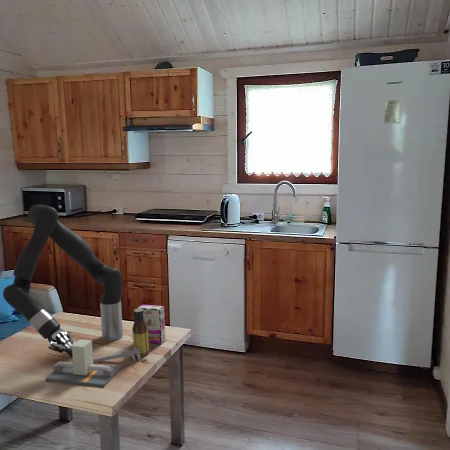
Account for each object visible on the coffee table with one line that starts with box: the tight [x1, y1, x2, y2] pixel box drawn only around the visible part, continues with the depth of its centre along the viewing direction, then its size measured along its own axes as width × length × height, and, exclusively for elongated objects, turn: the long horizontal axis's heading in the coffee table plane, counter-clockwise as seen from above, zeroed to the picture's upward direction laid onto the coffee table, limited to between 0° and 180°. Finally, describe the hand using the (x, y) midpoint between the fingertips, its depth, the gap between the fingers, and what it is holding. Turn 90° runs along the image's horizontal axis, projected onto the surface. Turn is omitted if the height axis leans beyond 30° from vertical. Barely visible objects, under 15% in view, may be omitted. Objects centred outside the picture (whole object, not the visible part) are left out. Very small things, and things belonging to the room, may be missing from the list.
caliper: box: [93, 346, 141, 363], centre depth 184 cm, size 20×1×6 cm, turn 93°
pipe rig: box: [45, 361, 122, 388], centre depth 173 cm, size 14×24×4 cm, turn 78°
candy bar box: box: [137, 304, 166, 345], centre depth 202 cm, size 11×5×16 cm, turn 74°
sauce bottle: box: [131, 307, 150, 357], centre depth 189 cm, size 6×6×20 cm
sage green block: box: [72, 339, 94, 375], centre depth 172 cm, size 6×5×12 cm
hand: (75, 356), depth 173 cm, fingers closed
